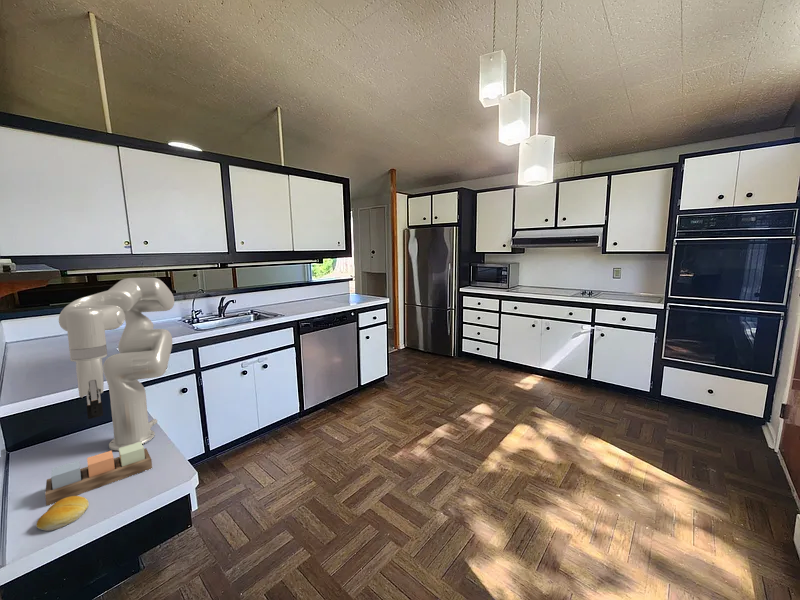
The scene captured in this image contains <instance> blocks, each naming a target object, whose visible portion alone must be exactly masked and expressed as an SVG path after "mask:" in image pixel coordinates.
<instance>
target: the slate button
mask: <svg viewBox="0 0 800 600" xmlns="http://www.w3.org/2000/svg"><path fill="white" fill-rule="evenodd" d="M80 469H81V464H80V459H78V460H76V461H75V460H74V461H72V462H69V463H66V464H61V465H59V466H56V467H52V468H51V473H50V474H51V475H50V478H51V479H52V487H53V490H54V489H57V488H60V487H63V486H66V485H69V484H72V483H75V482H78V481H81V471H80Z"/></svg>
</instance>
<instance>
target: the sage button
mask: <svg viewBox="0 0 800 600" xmlns="http://www.w3.org/2000/svg"><path fill="white" fill-rule="evenodd" d="M144 449H145V447H144V444H143V445H142V442H138V443H135V444H131V445H128V446H125V447H121V448H119V450H118V453H119V455H118V457H120V463H121V466H122V467H123V466H126V465H129V464H132V463H135V462H138V461H141V460H144V459H145V453H144Z"/></svg>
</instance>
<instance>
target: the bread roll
mask: <svg viewBox="0 0 800 600" xmlns="http://www.w3.org/2000/svg"><path fill="white" fill-rule="evenodd" d="M89 505H90V503H89V500H88V499H87V498H86V497H84V496H80V495H76V496H70V497H66V498H63V499H61V500H59V501H57V502H56V503H54V504H51V505H50V507H48V509H47V510H46V512H45V513H43V514H42V515H41V516H40V517H39V518H38V519H37V521H36V528H37V529H39V530H41V531H42V530H43V531H45V532H49V531H54V530H58V529H60V528H63V527H65V526H67V525H70V524H72V523H74V522H75V521H77V520H79V519H80V518H82V517H83V515H84V514H85V512H86V511H87V510H88V509H89Z"/></svg>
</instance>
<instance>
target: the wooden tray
mask: <svg viewBox="0 0 800 600" xmlns="http://www.w3.org/2000/svg"><path fill="white" fill-rule="evenodd" d="M148 451H149V450H148V449H147V447H144V453H145V459H144V460H141V461H138V462H135V463H132V464H129V465H126V466H123V467H122V466H121V463H120V456H117V457H114V466H115V469H114V470H111V471H108V472H105V473H102V474H99V475H96V476H93V477H90V478H89V471H88V466H85V467H82V468H80V471H81V481H78V482H75V483H72V484H69V485H66V486H63V487H60V488H57V489H54V490H53V487H52V479H51V477H50V478H47V479H46V483H45V494H44V495H45V504H46V506H47V505H48V506H51V505H53V503H54V504H55V502H57V501H59V500H61V499H63V498H66V497H70V496H80V495H82V494H84V493H88V492H90V491H93V490H96V489H98V488H101V487H104V486H107V485H110V484H113V483H116V482H118V480H119V481H121V480H125V479H127V478H129V476H130V477H132V475H133V476H136V475H138V474H141V473H143V472H142V471H144V472H146V471H145V470H147V471H149V469H150V470H152V469H153V463H152V462H153V461H152V460H153V459H152V458H151V455H150V452H148ZM151 468H152V469H151ZM140 472H141V473H140ZM137 473H138V474H137ZM135 474H136V475H135ZM115 481H116V482H115ZM112 482H113V483H112ZM109 483H110V484H109ZM50 504H51V505H50Z"/></svg>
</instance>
